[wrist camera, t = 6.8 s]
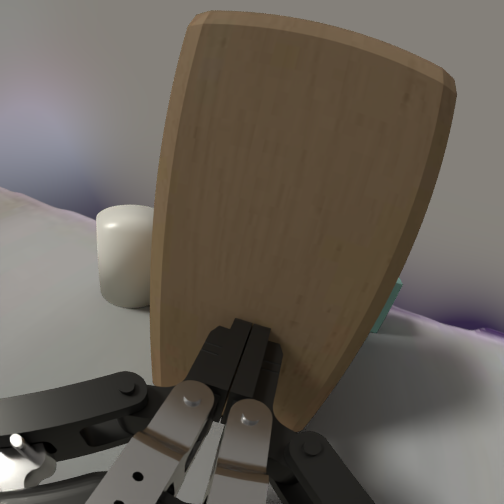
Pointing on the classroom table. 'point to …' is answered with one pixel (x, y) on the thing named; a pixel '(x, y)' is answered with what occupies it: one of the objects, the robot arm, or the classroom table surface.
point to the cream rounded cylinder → (125, 254)
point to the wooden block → (289, 192)
